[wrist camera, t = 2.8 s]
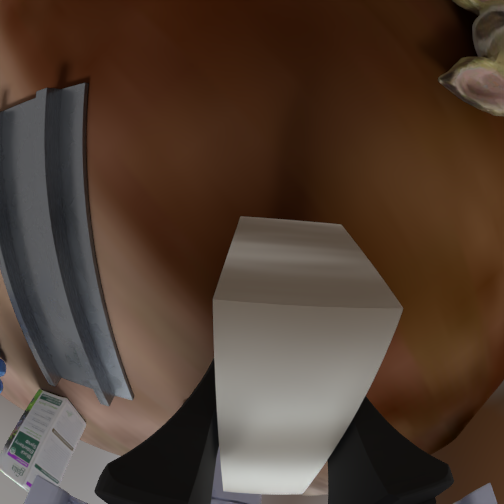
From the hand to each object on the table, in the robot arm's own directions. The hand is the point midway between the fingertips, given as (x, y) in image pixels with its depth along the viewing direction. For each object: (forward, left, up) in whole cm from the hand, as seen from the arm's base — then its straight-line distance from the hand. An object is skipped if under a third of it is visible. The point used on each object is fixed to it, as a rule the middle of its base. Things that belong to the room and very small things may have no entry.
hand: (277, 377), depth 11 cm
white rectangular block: (0, 0, -2) cm, 2 cm away
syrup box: (-21, +25, -7) cm, 33 cm away
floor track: (0, +18, -7) cm, 19 cm away
